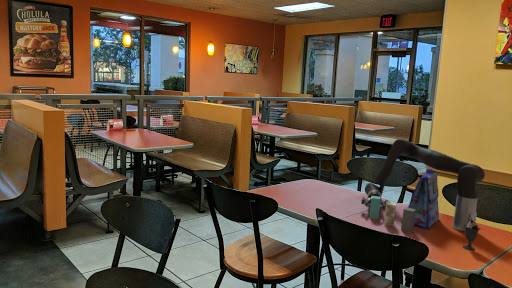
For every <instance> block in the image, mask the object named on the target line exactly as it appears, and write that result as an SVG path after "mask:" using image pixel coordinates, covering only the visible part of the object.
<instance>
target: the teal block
mask: <svg viewBox="0 0 512 288" xmlns="http://www.w3.org/2000/svg"><path fill="white" fill-rule="evenodd" d="M381 198H382V197H381ZM381 198H380V197H378V196H372V197H371V205H369V206H370V207H369V219H375V220H379V219H380V217H379V215H380V210H381V209H380V208H381V207H380V201H381Z"/></svg>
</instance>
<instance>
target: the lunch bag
mask: <svg viewBox="0 0 512 288" xmlns="http://www.w3.org/2000/svg"><path fill="white" fill-rule="evenodd" d="M425 171H426V172H425V173H424V174H423V175H422V176H421V177H420V178H419V180H418V181H417V183H416V185H415V188H414V191H413V193H412V196H411V199H410V201H409V203H408V208H412V209H416V214H415V221H414V225H416V226H419V227H422V228H423V229H425V230H428V229H430V228H431V227H432V226H433V225H434V224H435V223H436V222H437V221H438V220H439V219H440V212H439V200H438V199H439V185H438V184H439V183H438V175H439V174H438V172H437V171H435V170H433V168H432V169H431V168H426V170H425Z"/></svg>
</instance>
